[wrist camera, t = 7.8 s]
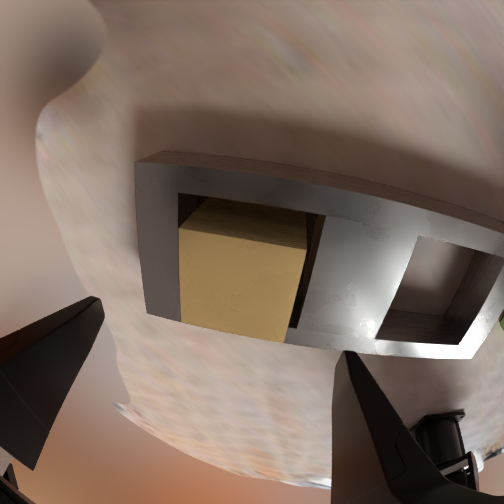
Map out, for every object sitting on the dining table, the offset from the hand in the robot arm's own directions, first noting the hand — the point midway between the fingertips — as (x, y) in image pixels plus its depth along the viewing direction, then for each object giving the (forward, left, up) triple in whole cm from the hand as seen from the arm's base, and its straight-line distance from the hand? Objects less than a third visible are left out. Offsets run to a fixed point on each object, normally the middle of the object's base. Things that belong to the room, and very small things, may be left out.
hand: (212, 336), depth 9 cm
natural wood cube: (0, 0, -8) cm, 8 cm away
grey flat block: (-6, 0, -8) cm, 10 cm away
